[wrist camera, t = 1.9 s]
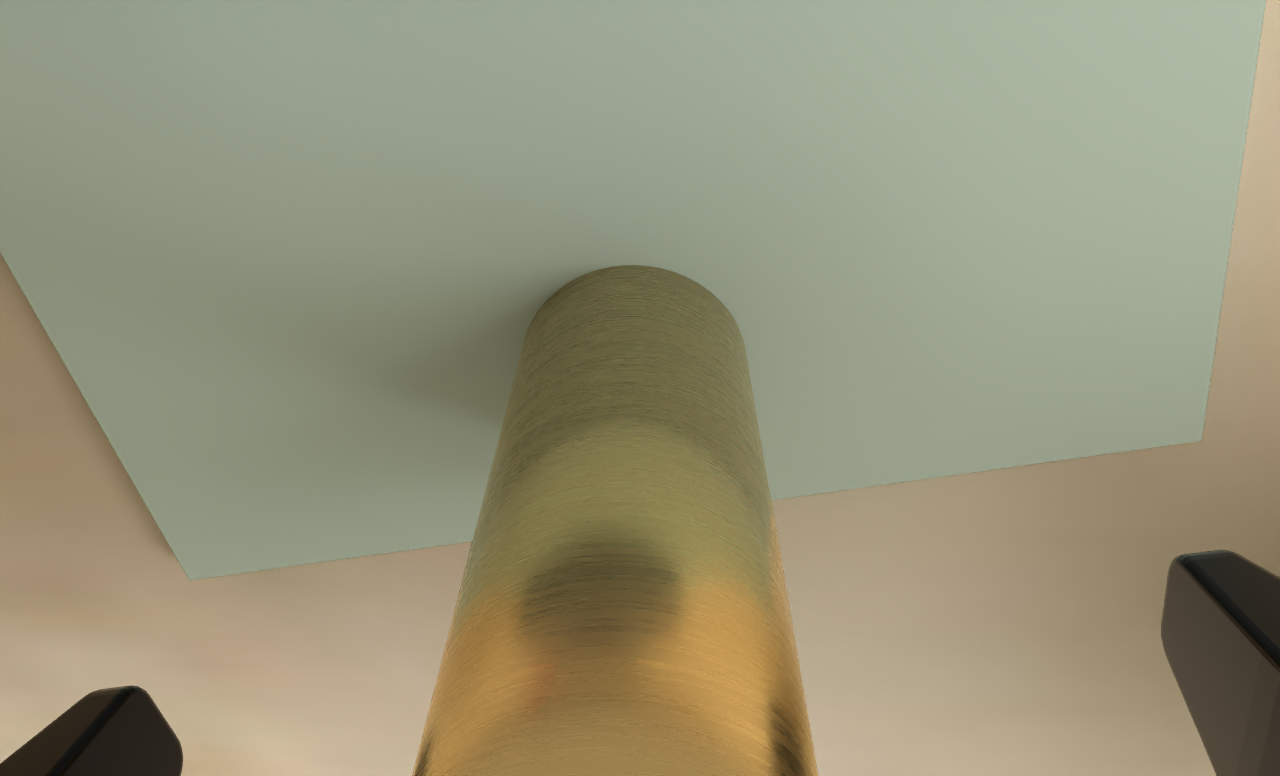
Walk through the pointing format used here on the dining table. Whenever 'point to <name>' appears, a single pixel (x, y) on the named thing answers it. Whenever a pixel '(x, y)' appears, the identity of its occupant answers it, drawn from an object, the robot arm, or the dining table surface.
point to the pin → (624, 557)
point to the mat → (610, 232)
